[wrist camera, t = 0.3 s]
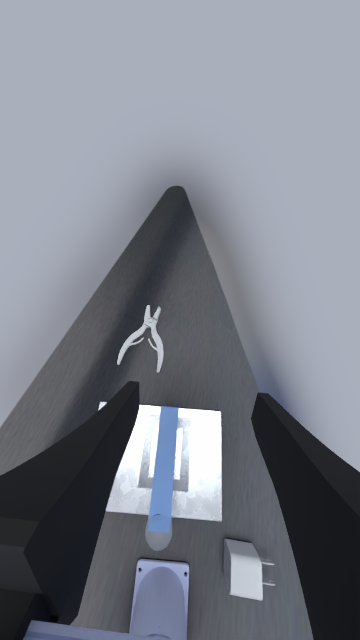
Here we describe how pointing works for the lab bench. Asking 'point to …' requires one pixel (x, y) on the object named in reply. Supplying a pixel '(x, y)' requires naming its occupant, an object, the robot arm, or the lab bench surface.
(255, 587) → the usb wall charger
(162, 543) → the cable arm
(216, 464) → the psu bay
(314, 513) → the robot arm
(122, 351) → the pliers
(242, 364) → the lab bench surface
